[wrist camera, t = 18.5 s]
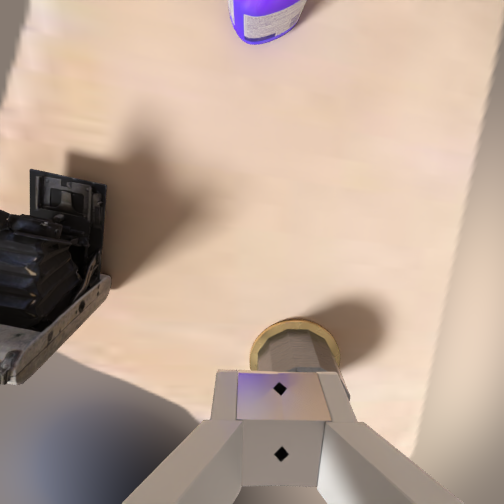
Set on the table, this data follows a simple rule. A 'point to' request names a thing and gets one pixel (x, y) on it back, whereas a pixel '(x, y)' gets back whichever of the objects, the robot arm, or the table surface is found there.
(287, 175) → the table surface
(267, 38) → the bottle
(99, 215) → the vintage camera
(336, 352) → the lens barrel
